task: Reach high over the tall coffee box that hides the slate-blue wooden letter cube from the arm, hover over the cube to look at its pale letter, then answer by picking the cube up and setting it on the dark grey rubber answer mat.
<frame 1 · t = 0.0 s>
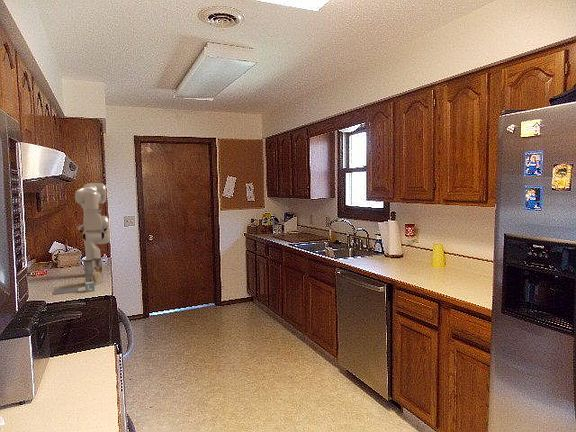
hand: (93, 239, 238), 31 cm above the worktop, tool pointing down, fingers open, 9 cm apart
letter cube: (90, 290, 238), on the worktop
coffee box: (94, 283, 256), on the worktop
answer mat: (66, 290, 239), on the worktop
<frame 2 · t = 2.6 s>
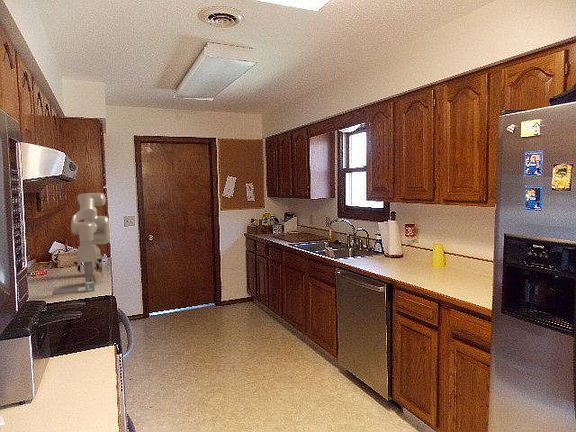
hand: (88, 270, 237), 12 cm above the worktop, tool pointing down, fingers open, 9 cm apart
nothing on the worktop moved.
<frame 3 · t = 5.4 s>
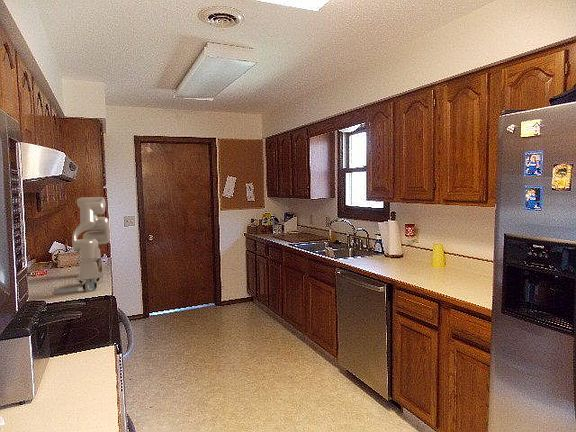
hand: (90, 289, 238), 1 cm above the worktop, tool pointing down, fingers closed on letter cube, 5 cm apart
letter cube: (90, 290, 238), on the worktop, touching gripper
everything else where it was.
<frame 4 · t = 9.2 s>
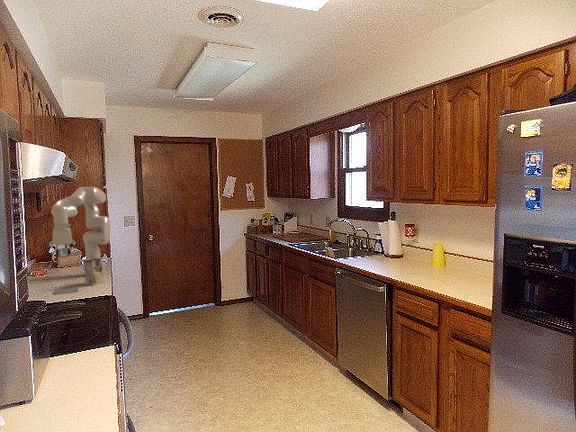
hand: (63, 255, 237), 22 cm above the worktop, tool pointing down, fingers closed on letter cube, 5 cm apart
letter cube: (63, 256, 237), point 21 cm above the worktop, touching gripper
everything else where it was.
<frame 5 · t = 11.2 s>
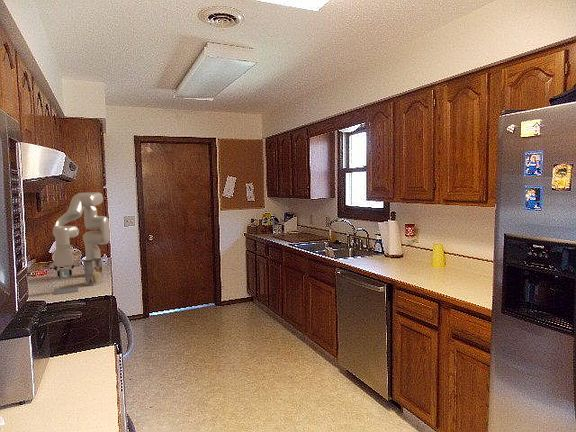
hand: (64, 276, 238), 9 cm above the worktop, tool pointing down, fingers closed on letter cube, 5 cm apart
letter cube: (65, 277, 238), point 8 cm above the worktop, touching gripper
everything else where it was.
when the fingers open (3 cm above the worktop, at t = 13.0 s): letter cube drops 2 cm, resting on answer mat.
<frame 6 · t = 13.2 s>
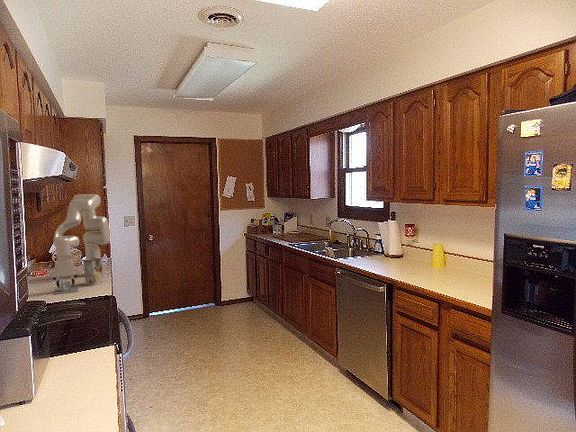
hand: (65, 286, 239), 3 cm above the worktop, tool pointing down, fingers open, 7 cm apart
letter cube: (66, 290, 239), resting on answer mat
everything else where it was.
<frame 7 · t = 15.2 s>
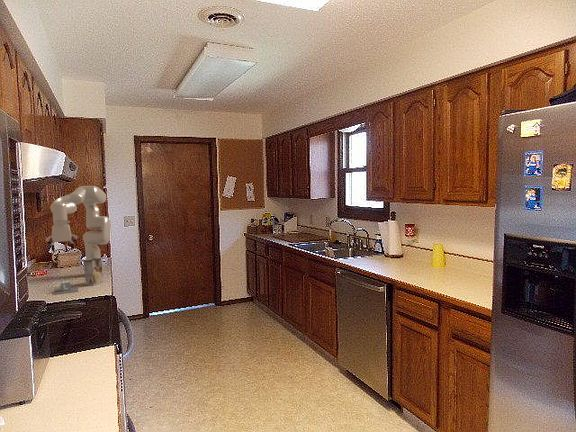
hand: (62, 250, 238), 25 cm above the worktop, tool pointing down, fingers open, 9 cm apart
nothing on the worktop moved.
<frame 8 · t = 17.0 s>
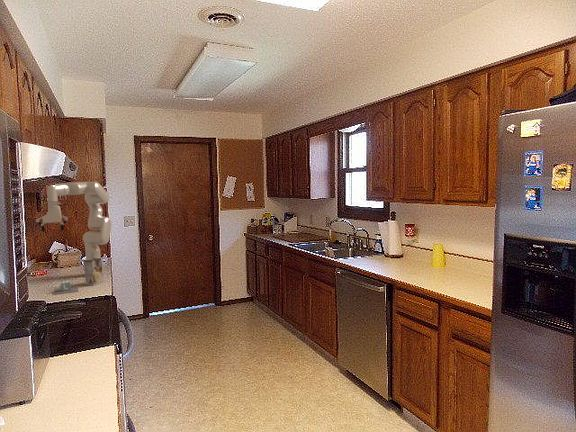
hand: (53, 231, 241), 36 cm above the worktop, tool pointing down, fingers open, 9 cm apart
nothing on the worktop moved.
at the end: letter cube inside the target area on the answer mat (0.0 cm from its centre), point 0.3 cm above the answer mat's base; letter cube tilted 0°; coffee box moved 0.2 cm from its start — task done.
